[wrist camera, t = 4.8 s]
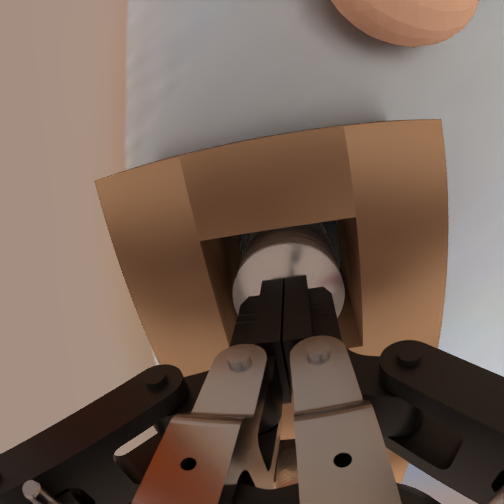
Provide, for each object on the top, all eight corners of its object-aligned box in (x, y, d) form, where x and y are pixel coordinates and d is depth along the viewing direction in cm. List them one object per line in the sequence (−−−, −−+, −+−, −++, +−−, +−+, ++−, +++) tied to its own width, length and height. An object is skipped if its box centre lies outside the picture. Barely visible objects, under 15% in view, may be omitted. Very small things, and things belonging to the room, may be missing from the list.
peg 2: (273, 435, 15) (264, 527, 10) (347, 427, 15) (356, 520, 9) (282, 468, 17) (277, 546, 11) (346, 462, 16) (351, 541, 11)
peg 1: (243, 211, 16) (221, 254, 11) (322, 199, 16) (339, 236, 10) (258, 281, 18) (245, 347, 12) (331, 271, 17) (347, 335, 12)
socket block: (156, 161, 16) (94, 180, 10) (387, 120, 14) (440, 119, 8) (243, 438, 23) (232, 498, 18) (388, 423, 21) (401, 482, 16)
